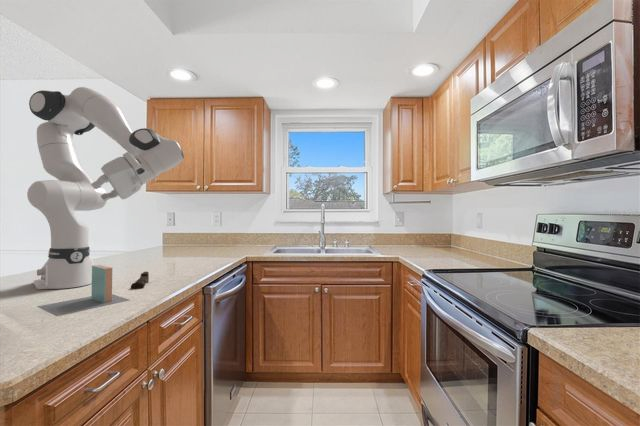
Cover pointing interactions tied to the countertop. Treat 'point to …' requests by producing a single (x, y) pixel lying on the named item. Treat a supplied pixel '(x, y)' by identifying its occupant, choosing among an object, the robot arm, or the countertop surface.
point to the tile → (101, 283)
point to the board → (78, 305)
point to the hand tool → (141, 281)
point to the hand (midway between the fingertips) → (97, 193)
